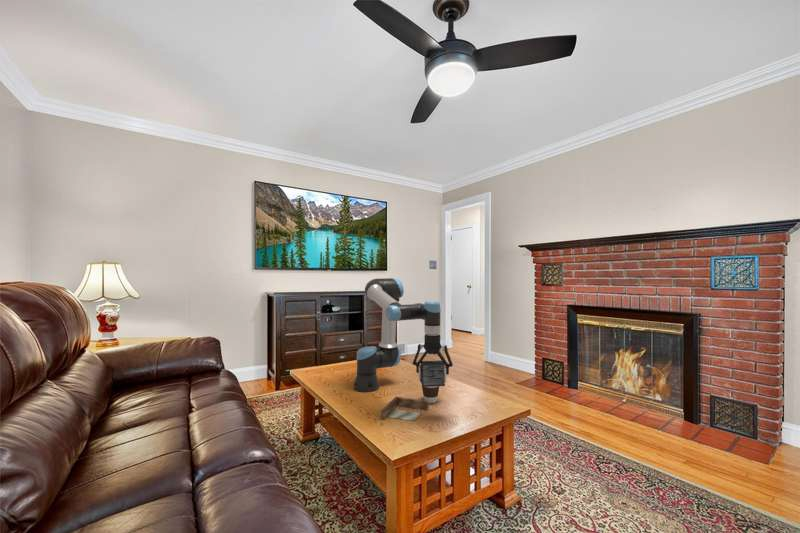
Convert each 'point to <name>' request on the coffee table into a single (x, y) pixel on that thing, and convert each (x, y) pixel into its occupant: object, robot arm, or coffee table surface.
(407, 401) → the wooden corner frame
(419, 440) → the coffee table surface
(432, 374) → the small box
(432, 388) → the coffee cup
